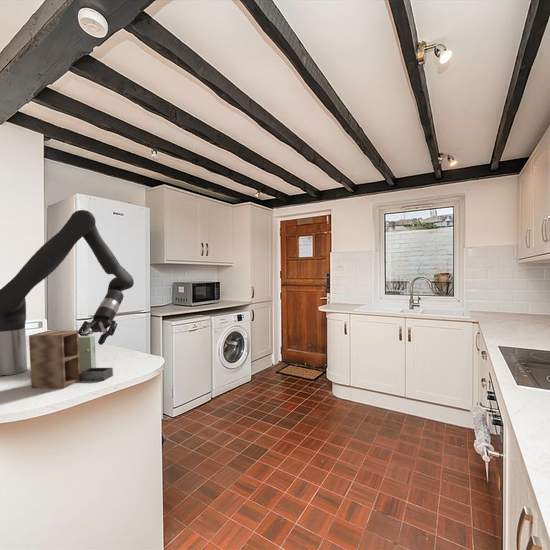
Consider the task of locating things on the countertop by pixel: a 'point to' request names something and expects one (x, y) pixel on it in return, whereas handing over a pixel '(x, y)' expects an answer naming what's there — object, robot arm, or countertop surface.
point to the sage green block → (87, 352)
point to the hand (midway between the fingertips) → (89, 344)
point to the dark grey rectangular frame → (96, 374)
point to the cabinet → (54, 359)
